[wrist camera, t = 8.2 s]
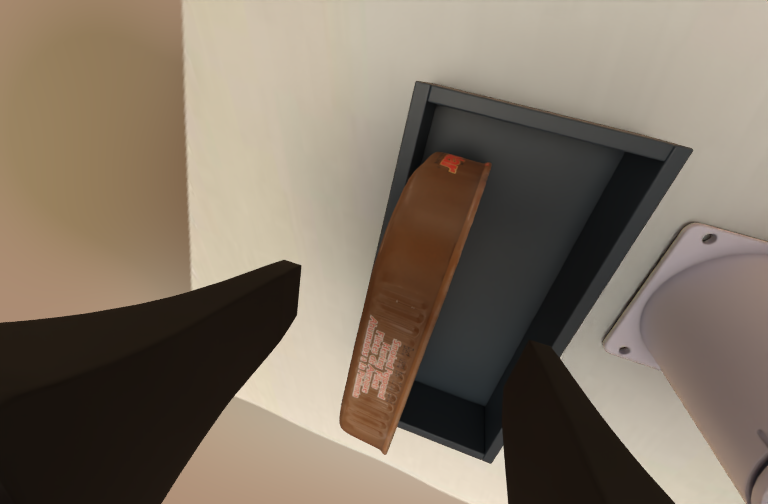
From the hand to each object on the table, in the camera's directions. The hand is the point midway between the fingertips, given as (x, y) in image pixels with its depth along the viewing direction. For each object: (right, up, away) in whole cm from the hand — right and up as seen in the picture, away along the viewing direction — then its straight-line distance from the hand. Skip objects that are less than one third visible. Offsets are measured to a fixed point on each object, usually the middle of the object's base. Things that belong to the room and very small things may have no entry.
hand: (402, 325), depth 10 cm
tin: (+2, +1, +10) cm, 10 cm away
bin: (+4, +1, +9) cm, 10 cm away
